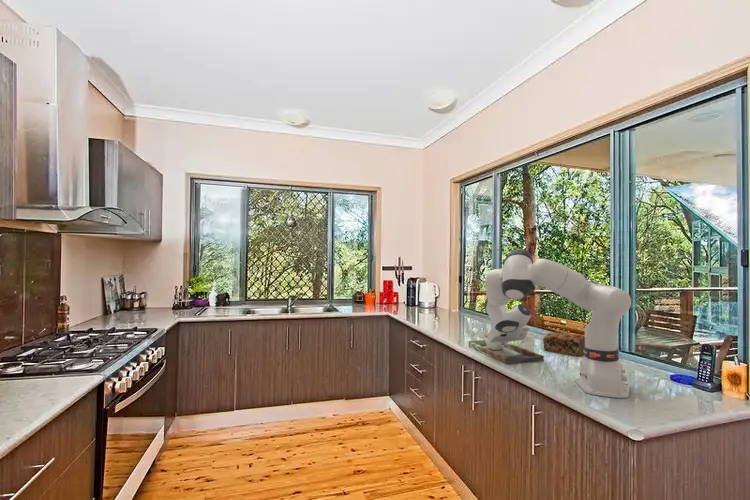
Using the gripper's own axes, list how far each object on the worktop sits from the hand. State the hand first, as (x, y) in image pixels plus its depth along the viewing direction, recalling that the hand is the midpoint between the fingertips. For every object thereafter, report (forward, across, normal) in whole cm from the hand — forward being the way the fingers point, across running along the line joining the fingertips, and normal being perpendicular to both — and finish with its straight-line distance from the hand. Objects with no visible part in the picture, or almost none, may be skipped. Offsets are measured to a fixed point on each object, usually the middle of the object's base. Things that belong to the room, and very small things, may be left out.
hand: (501, 343), depth 206 cm
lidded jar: (+8, 0, -2) cm, 8 cm away
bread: (-3, -31, +10) cm, 33 cm away
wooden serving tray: (+2, 0, +5) cm, 5 cm away
